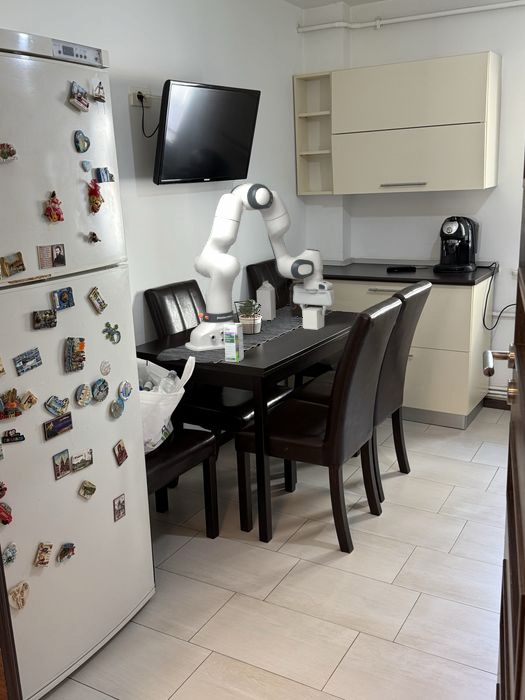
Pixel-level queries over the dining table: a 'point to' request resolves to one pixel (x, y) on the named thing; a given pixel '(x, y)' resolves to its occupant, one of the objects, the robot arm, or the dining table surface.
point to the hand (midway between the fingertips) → (313, 314)
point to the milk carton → (266, 301)
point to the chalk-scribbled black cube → (296, 308)
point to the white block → (313, 318)
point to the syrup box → (233, 342)
